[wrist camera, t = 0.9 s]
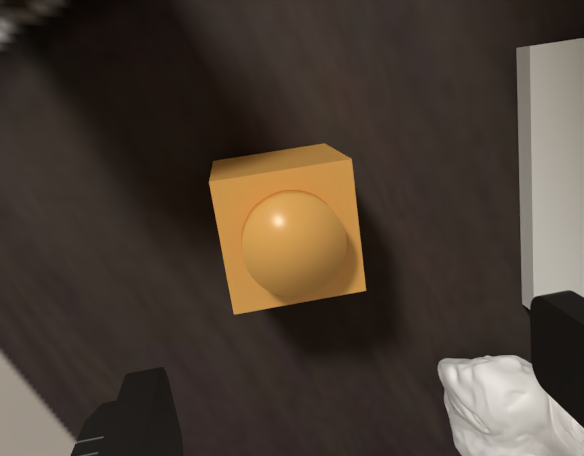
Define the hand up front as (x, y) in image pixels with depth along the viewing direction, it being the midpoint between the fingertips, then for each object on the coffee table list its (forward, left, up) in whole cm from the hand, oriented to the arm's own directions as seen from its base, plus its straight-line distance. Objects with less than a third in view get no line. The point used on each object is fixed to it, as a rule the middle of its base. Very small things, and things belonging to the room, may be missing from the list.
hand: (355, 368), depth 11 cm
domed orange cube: (0, 0, -16) cm, 16 cm away
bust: (+14, +11, -16) cm, 24 cm away
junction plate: (+1, +20, -16) cm, 26 cm away
